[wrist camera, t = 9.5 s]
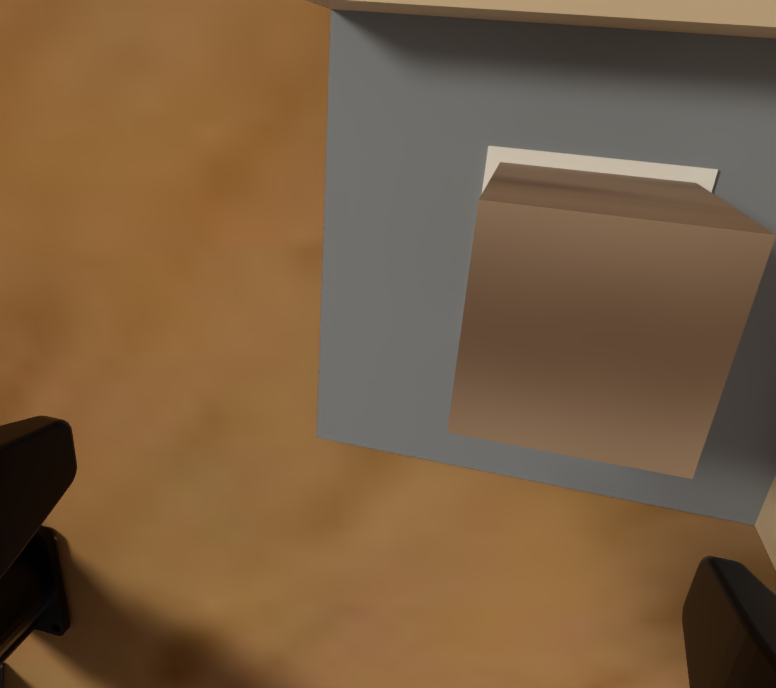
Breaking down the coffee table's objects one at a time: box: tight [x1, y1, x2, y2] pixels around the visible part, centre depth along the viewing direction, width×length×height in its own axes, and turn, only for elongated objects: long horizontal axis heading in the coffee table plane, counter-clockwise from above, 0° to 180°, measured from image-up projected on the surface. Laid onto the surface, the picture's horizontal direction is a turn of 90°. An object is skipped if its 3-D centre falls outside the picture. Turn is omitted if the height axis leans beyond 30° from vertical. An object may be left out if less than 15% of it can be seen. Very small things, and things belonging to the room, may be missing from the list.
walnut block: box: [447, 162, 776, 479], centre depth 14 cm, size 5×5×6 cm
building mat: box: [306, 0, 776, 570], centre depth 16 cm, size 15×16×3 cm
